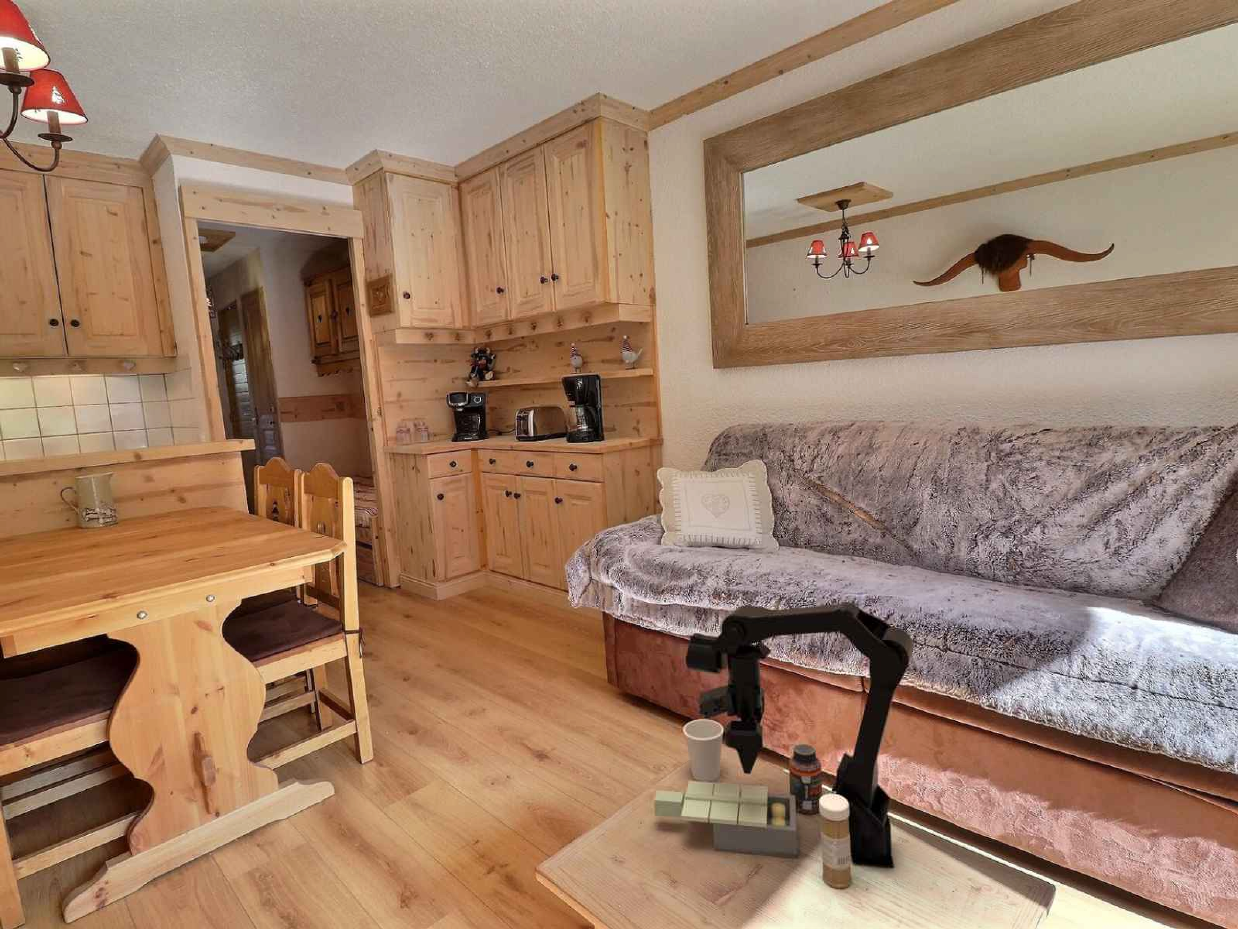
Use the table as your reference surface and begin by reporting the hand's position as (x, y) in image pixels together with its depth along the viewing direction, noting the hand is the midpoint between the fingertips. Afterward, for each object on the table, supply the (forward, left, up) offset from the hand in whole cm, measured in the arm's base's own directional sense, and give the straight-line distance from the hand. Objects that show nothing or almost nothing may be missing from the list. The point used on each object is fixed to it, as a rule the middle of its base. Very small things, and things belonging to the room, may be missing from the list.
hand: (748, 759), depth 121 cm
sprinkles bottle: (-14, +13, -12) cm, 23 cm away
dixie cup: (+10, -14, -12) cm, 21 cm away
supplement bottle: (-10, -6, -12) cm, 17 cm away
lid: (+7, +4, -9) cm, 12 cm away
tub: (-1, +4, -12) cm, 13 cm away
